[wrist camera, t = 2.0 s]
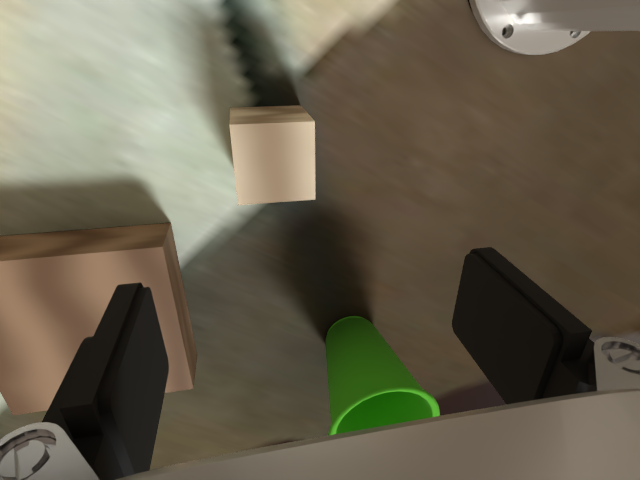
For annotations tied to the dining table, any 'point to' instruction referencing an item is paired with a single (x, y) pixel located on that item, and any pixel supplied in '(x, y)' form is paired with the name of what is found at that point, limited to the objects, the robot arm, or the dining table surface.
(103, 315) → the robot arm
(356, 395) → the cup
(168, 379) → the walnut block
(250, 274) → the dining table surface
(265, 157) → the birch block
